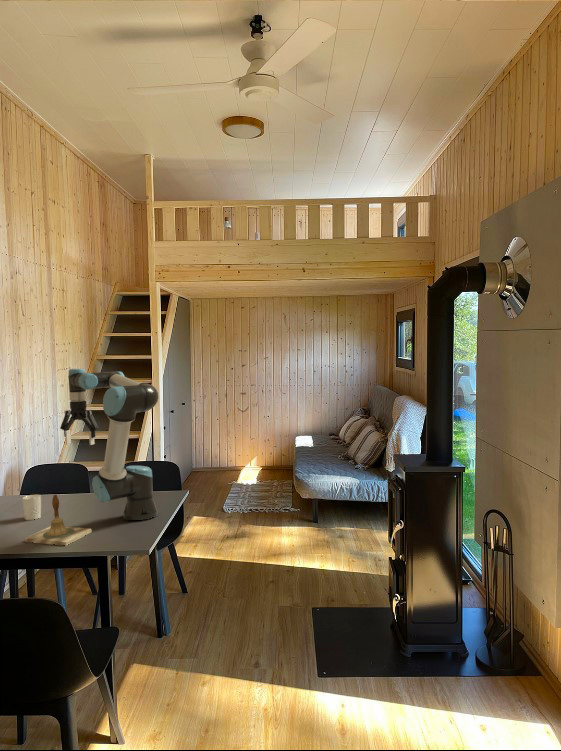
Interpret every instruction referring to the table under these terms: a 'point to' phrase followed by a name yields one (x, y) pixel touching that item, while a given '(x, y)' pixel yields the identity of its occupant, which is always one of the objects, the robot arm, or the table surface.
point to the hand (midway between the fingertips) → (80, 444)
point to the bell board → (58, 540)
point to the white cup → (32, 507)
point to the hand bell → (56, 521)
